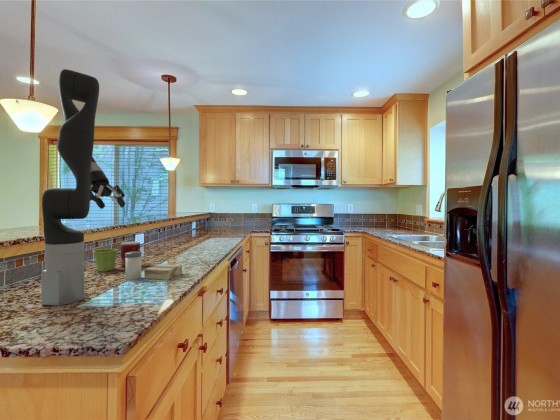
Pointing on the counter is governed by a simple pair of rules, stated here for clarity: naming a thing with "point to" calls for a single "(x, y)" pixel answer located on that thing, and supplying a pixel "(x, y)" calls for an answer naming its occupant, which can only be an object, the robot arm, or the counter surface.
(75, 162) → the robot arm
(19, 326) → the counter surface
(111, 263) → the plant pot
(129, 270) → the spice jar
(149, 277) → the maple base
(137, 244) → the canned food
